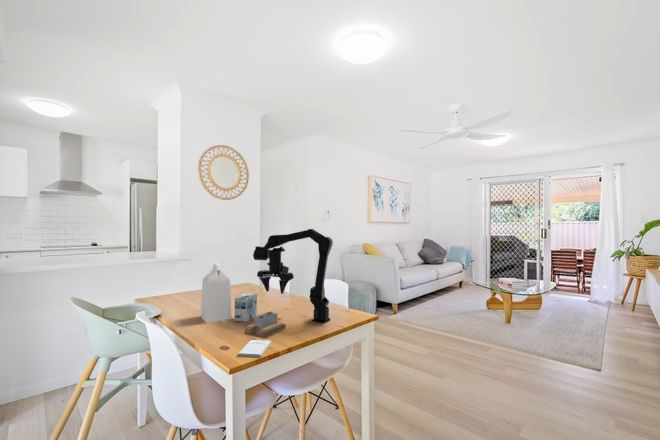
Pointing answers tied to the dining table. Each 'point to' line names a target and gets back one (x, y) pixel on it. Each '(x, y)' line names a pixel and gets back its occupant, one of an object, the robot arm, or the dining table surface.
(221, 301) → the milk
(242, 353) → the external hard drive
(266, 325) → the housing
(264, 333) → the tray
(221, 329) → the dining table surface
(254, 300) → the light bulb box
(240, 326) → the dining table surface
